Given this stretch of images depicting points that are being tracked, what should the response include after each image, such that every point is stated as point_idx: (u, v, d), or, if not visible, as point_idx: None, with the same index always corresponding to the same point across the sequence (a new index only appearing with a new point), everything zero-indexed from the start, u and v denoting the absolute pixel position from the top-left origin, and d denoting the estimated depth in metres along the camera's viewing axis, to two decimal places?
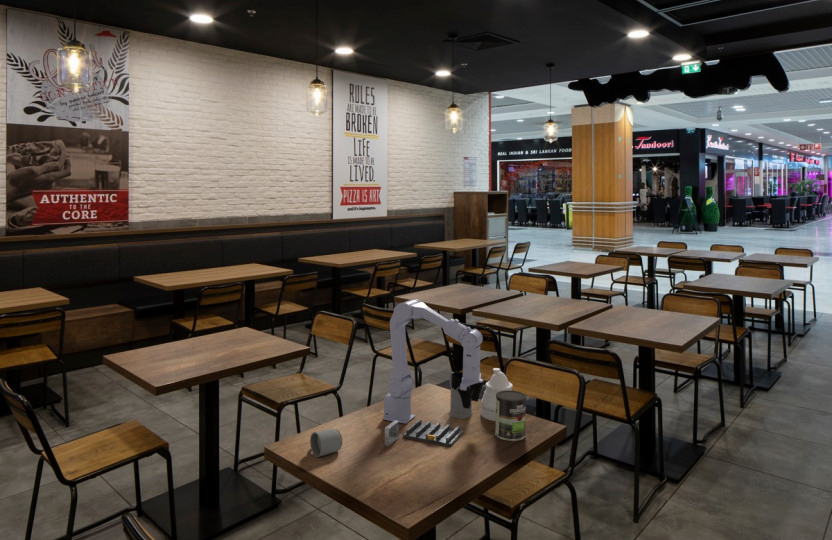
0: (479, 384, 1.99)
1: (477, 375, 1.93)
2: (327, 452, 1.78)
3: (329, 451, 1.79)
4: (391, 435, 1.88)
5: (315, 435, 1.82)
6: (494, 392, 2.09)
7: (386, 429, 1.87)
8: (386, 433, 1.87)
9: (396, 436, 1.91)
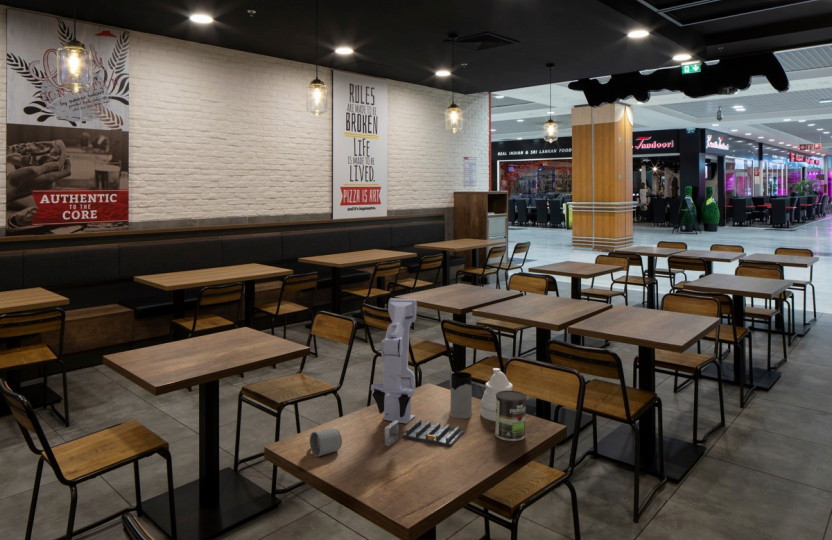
0: None
1: (385, 384, 1.86)
2: (327, 452, 1.79)
3: (329, 451, 1.79)
4: (391, 435, 1.88)
5: (315, 435, 1.82)
6: (494, 392, 2.09)
7: (386, 429, 1.87)
8: (386, 433, 1.87)
9: (396, 436, 1.91)
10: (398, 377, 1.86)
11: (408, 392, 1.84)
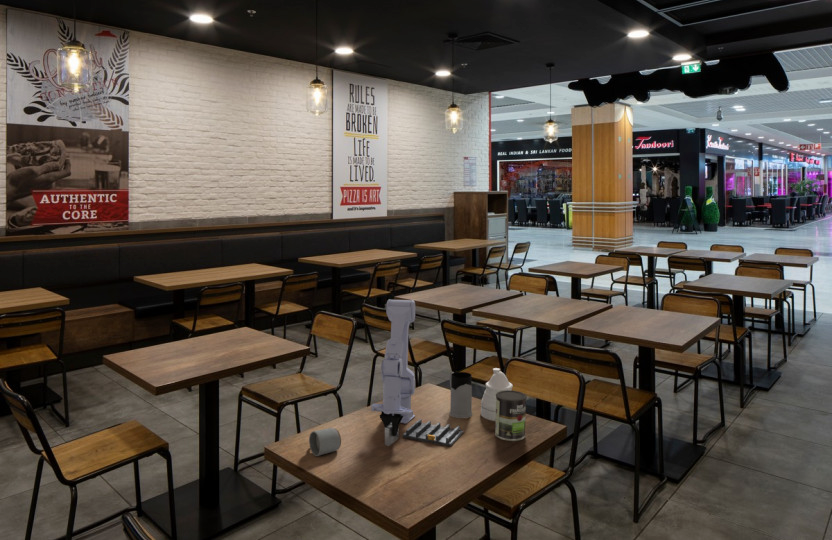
0: None
1: (385, 404, 1.87)
2: (326, 451, 1.79)
3: (328, 450, 1.79)
4: (391, 435, 1.88)
5: (314, 434, 1.83)
6: (494, 392, 2.09)
7: (386, 429, 1.87)
8: (386, 433, 1.87)
9: (396, 436, 1.91)
10: (398, 398, 1.87)
11: (408, 413, 1.85)
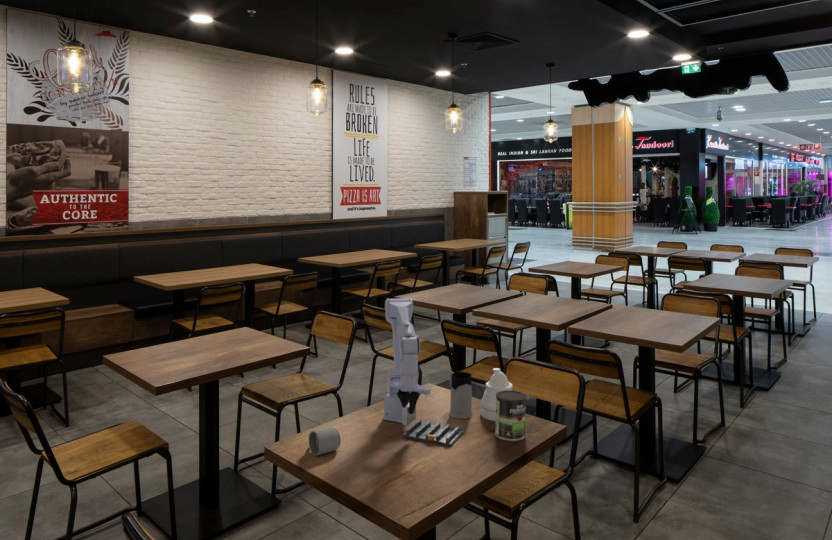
0: None
1: (402, 382, 1.88)
2: (325, 451, 1.79)
3: (327, 450, 1.80)
4: (408, 415, 1.89)
5: (313, 434, 1.83)
6: (494, 392, 2.09)
7: (404, 408, 1.88)
8: (404, 413, 1.88)
9: (413, 417, 1.92)
10: (415, 376, 1.87)
11: (425, 390, 1.86)
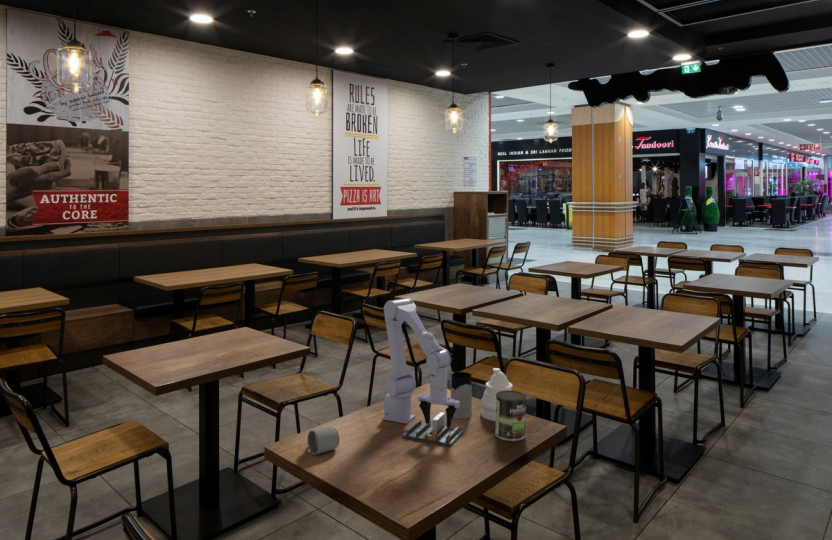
0: None
1: (432, 395, 1.91)
2: (324, 450, 1.80)
3: (326, 449, 1.80)
4: (438, 426, 1.92)
5: (312, 433, 1.84)
6: (494, 392, 2.09)
7: (434, 421, 1.91)
8: (434, 425, 1.91)
9: (442, 428, 1.96)
10: (445, 389, 1.91)
11: (455, 403, 1.90)
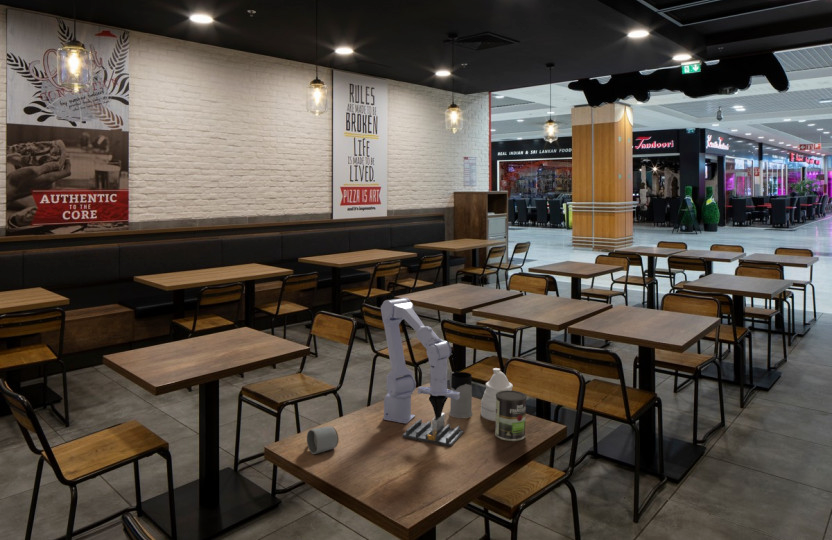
0: None
1: (432, 387, 1.91)
2: (323, 449, 1.80)
3: (325, 448, 1.81)
4: (438, 426, 1.92)
5: (312, 433, 1.84)
6: (494, 392, 2.09)
7: (434, 421, 1.91)
8: (434, 425, 1.91)
9: (442, 428, 1.96)
10: (445, 380, 1.91)
11: (455, 395, 1.89)
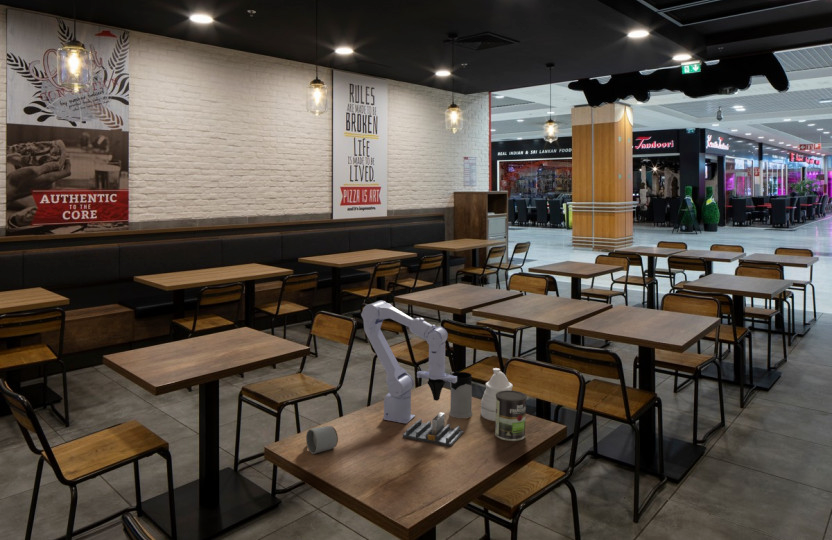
0: None
1: (431, 371, 2.00)
2: (323, 449, 1.81)
3: (325, 448, 1.81)
4: (438, 426, 1.92)
5: (311, 432, 1.84)
6: (494, 392, 2.09)
7: (434, 421, 1.91)
8: (434, 425, 1.91)
9: (442, 428, 1.96)
10: (443, 365, 2.00)
11: (453, 378, 1.98)
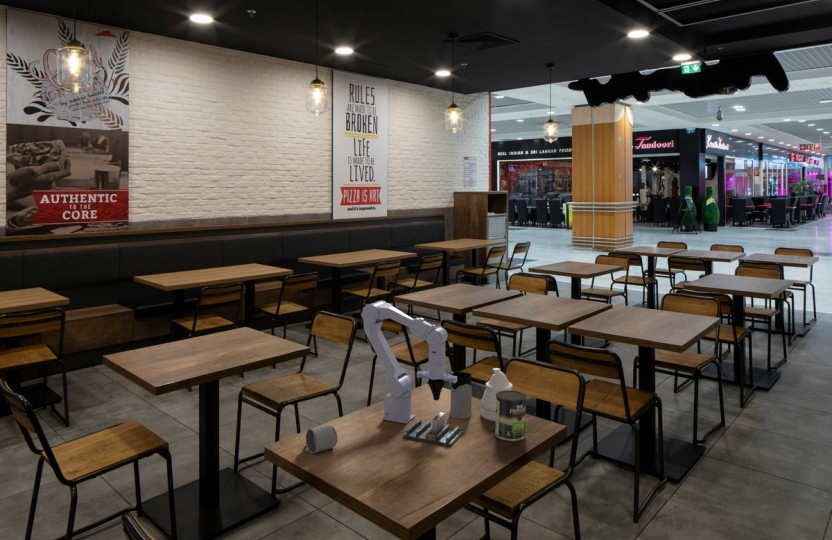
0: None
1: (431, 371, 2.00)
2: (322, 448, 1.81)
3: (324, 448, 1.81)
4: (438, 426, 1.92)
5: (310, 432, 1.85)
6: (494, 392, 2.09)
7: (434, 421, 1.91)
8: (434, 425, 1.91)
9: (442, 428, 1.96)
10: (443, 365, 2.00)
11: (453, 378, 1.98)
